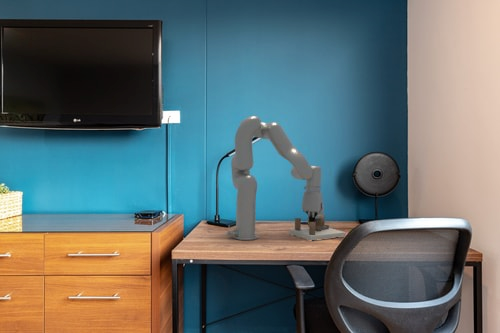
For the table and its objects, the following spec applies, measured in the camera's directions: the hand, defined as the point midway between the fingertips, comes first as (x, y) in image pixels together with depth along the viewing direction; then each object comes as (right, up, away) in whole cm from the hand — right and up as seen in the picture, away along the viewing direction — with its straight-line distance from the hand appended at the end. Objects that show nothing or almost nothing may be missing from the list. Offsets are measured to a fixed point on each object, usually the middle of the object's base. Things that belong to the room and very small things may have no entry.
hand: (311, 224), depth 180 cm
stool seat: (+2, -5, -2) cm, 6 cm away
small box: (+7, -5, +24) cm, 25 cm away
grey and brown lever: (+6, -3, 0) cm, 6 cm away
